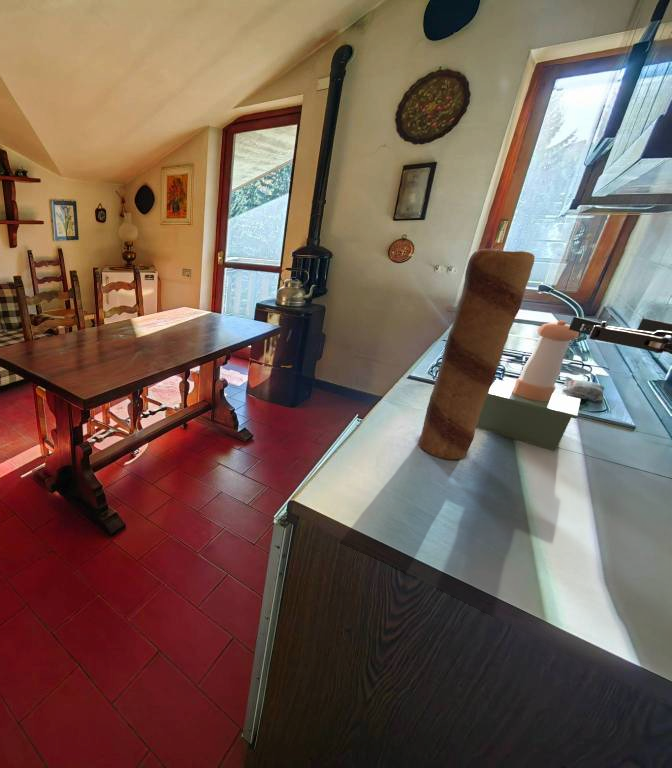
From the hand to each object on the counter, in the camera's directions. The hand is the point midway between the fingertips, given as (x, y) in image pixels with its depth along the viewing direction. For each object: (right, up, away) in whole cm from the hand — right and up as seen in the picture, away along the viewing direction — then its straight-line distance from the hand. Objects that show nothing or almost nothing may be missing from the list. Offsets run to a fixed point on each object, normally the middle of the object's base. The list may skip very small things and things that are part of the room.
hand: (606, 323), depth 82 cm
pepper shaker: (0, -16, +17) cm, 23 cm away
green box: (0, -25, +21) cm, 32 cm away
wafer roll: (-27, -28, +11) cm, 41 cm away
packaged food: (+38, -17, +41) cm, 59 cm away
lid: (0, -16, +17) cm, 24 cm away
